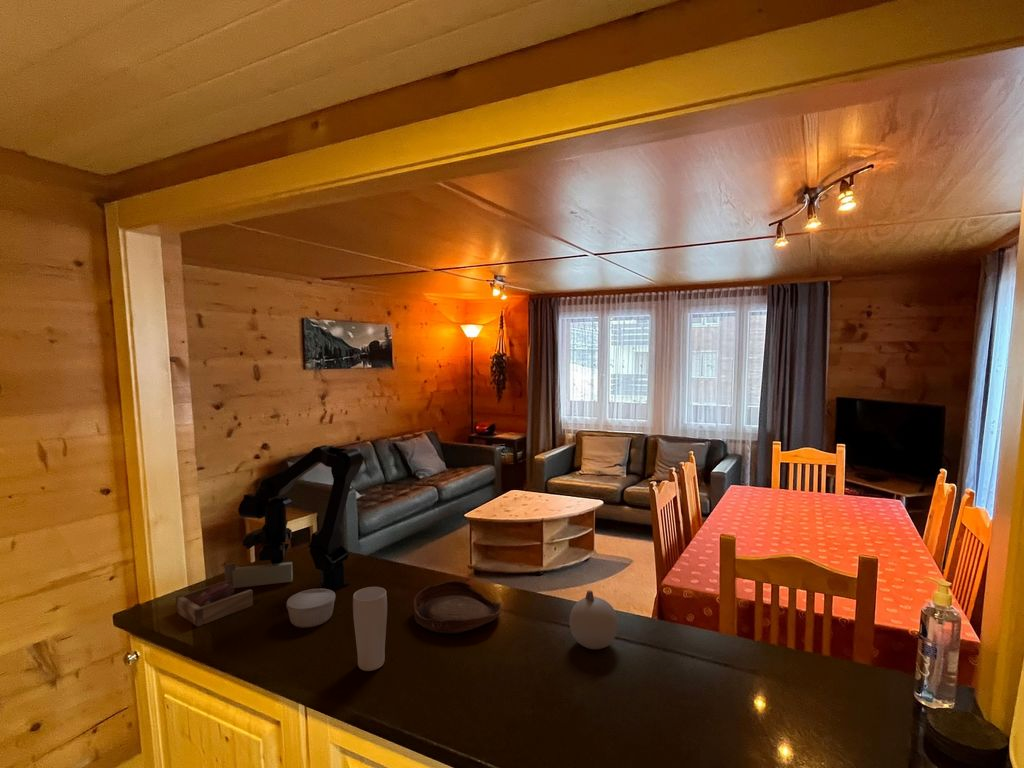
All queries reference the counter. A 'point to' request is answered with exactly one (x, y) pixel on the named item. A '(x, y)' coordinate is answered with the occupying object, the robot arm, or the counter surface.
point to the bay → (211, 605)
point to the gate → (258, 574)
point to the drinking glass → (370, 626)
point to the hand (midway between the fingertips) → (276, 572)
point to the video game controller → (214, 594)
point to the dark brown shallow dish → (453, 608)
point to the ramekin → (311, 607)
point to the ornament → (593, 622)
